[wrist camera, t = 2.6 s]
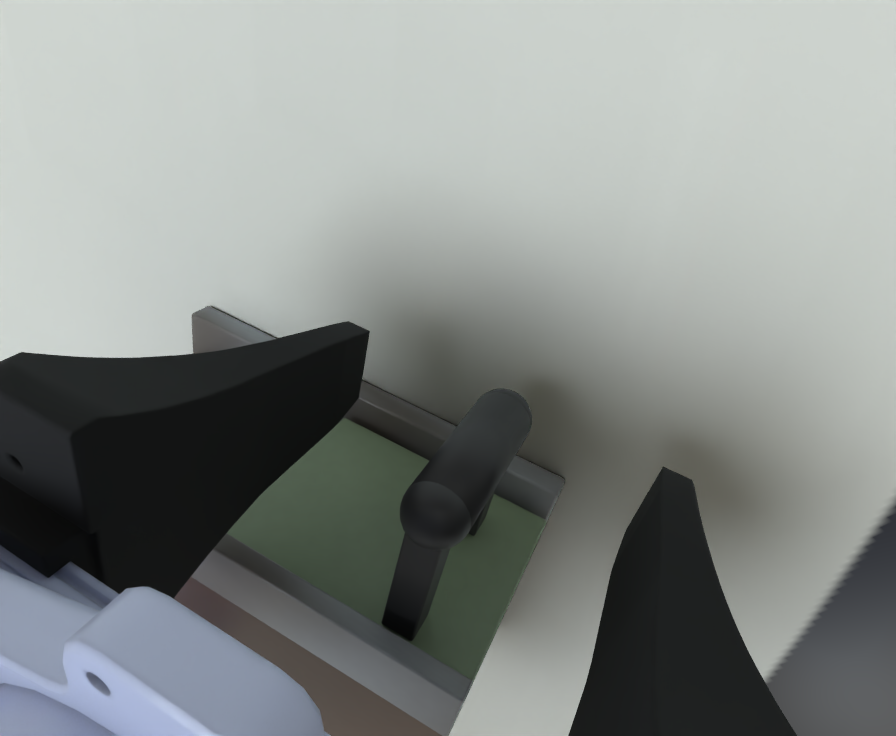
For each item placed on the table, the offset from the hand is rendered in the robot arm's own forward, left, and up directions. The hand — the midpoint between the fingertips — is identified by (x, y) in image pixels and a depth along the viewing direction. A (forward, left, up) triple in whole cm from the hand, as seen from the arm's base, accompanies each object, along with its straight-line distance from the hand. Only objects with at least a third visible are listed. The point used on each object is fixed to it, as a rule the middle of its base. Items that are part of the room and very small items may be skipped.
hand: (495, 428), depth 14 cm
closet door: (-1, -2, -2) cm, 3 cm away
